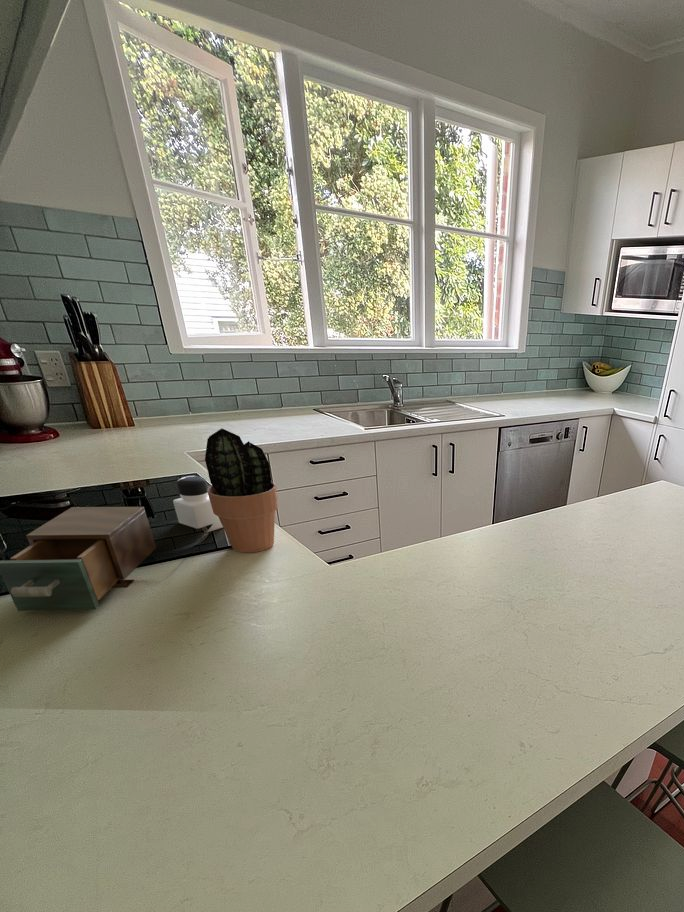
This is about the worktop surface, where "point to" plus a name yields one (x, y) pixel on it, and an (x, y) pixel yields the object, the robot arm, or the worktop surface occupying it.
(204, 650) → the worktop surface
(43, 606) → the drawer
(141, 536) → the cabinet
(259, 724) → the worktop surface
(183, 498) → the medicine bottle
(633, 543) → the worktop surface
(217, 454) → the potted plant
